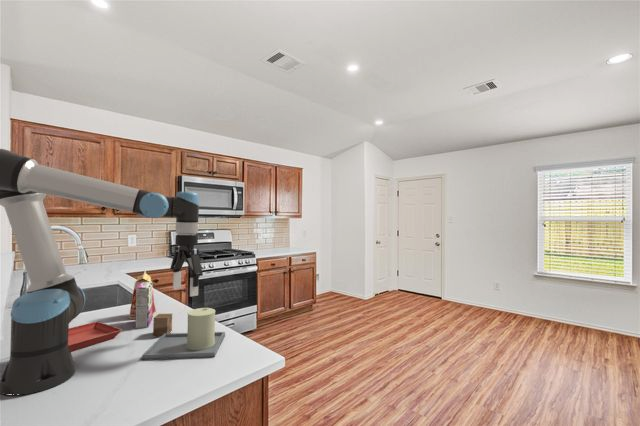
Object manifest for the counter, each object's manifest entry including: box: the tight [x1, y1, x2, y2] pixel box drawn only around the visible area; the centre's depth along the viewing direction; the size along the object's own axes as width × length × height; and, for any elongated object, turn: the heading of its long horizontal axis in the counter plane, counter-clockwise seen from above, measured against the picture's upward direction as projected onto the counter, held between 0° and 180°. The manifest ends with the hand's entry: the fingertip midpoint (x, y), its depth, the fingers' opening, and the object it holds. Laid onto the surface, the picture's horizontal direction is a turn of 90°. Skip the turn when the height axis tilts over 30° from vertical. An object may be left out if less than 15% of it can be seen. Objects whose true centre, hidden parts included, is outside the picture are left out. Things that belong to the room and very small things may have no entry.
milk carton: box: [128, 270, 157, 320], centre depth 138 cm, size 9×9×20 cm
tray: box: [141, 331, 226, 361], centre depth 106 cm, size 18×22×2 cm
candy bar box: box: [134, 281, 153, 329], centre depth 128 cm, size 11×5×16 cm, turn 22°
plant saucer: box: [68, 321, 123, 353], centre depth 110 cm, size 18×18×3 cm
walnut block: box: [152, 313, 173, 337], centre depth 117 cm, size 5×5×7 cm
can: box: [186, 307, 216, 350], centre depth 106 cm, size 9×9×12 cm
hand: (185, 292), depth 111 cm, fingers open, 13 cm apart
